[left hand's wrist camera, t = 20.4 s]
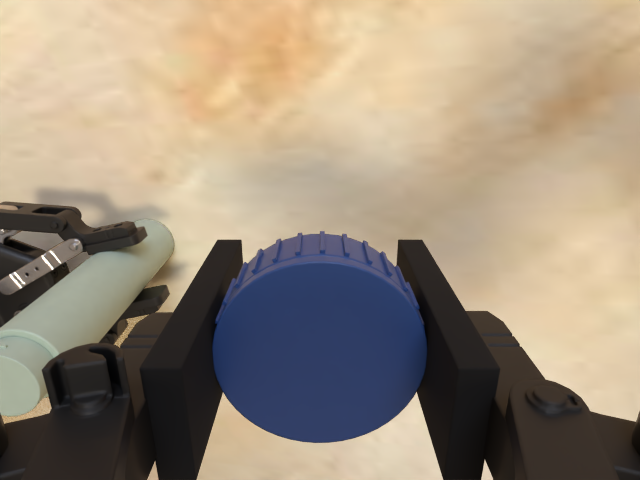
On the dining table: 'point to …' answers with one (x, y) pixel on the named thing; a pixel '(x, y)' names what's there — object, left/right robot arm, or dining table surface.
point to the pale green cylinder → (75, 314)
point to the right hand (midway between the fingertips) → (152, 265)
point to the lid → (319, 339)
